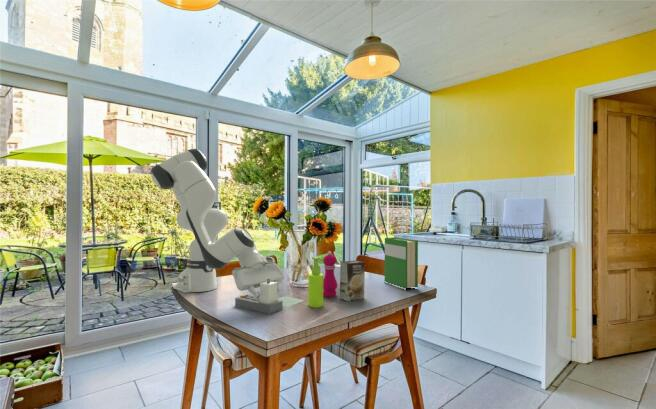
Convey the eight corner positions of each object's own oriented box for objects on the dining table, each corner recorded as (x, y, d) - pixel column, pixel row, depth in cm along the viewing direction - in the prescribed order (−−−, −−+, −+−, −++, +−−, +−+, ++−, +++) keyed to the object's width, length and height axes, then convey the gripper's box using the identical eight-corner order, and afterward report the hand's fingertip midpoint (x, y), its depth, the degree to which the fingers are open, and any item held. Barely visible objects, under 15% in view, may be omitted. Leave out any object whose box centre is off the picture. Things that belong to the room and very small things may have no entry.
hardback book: (417, 289, 158) (417, 240, 158) (405, 290, 155) (405, 240, 155) (396, 281, 174) (396, 237, 174) (384, 283, 171) (384, 237, 171)
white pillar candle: (259, 310, 121) (260, 279, 121) (267, 306, 125) (268, 277, 125) (268, 312, 118) (269, 280, 118) (276, 308, 122) (277, 278, 122)
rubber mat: (267, 305, 130) (267, 302, 130) (284, 298, 140) (284, 296, 140) (288, 309, 125) (288, 307, 125) (305, 302, 134) (305, 300, 134)
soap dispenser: (328, 307, 128) (328, 256, 129) (315, 310, 123) (315, 258, 124) (317, 303, 132) (318, 255, 133) (305, 307, 128) (305, 257, 128)
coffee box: (348, 301, 136) (348, 263, 136) (339, 298, 141) (339, 261, 141) (364, 298, 141) (365, 261, 141) (355, 295, 146) (356, 259, 146)
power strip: (235, 308, 126) (235, 296, 126) (248, 303, 132) (248, 292, 132) (270, 316, 116) (270, 303, 116) (282, 311, 122) (282, 299, 122)
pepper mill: (335, 297, 142) (336, 252, 142) (319, 296, 143) (320, 251, 143) (338, 293, 149) (338, 250, 149) (323, 292, 150) (323, 249, 150)
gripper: (233, 263, 119) (248, 295, 112) (276, 257, 134) (292, 285, 127) (226, 274, 121) (241, 305, 115) (270, 267, 137) (284, 294, 130)
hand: (268, 294), depth 121 cm, fingers open, 8 cm apart
